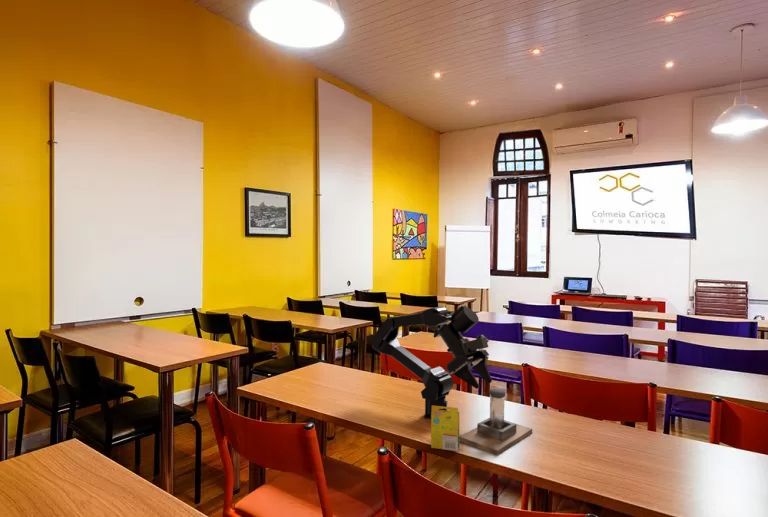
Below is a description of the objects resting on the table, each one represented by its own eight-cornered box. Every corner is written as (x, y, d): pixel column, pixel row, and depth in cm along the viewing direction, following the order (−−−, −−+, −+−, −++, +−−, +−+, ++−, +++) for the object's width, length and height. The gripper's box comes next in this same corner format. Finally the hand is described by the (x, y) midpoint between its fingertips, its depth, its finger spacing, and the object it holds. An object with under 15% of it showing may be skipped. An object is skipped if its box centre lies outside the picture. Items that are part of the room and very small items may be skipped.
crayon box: (459, 447, 120) (460, 404, 120) (457, 452, 118) (458, 408, 117) (432, 443, 123) (433, 401, 122) (430, 448, 120) (431, 405, 120)
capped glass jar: (488, 434, 126) (489, 392, 126) (488, 428, 130) (489, 388, 130) (504, 436, 125) (505, 394, 125) (504, 430, 129) (505, 389, 129)
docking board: (459, 440, 125) (459, 427, 124) (495, 421, 139) (496, 409, 139) (497, 454, 116) (497, 441, 116) (532, 432, 130) (532, 420, 130)
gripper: (459, 328, 127) (492, 375, 121) (485, 324, 142) (516, 365, 136) (433, 350, 132) (463, 396, 125) (461, 343, 147) (489, 385, 140)
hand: (484, 385), depth 131 cm, fingers open, 9 cm apart
